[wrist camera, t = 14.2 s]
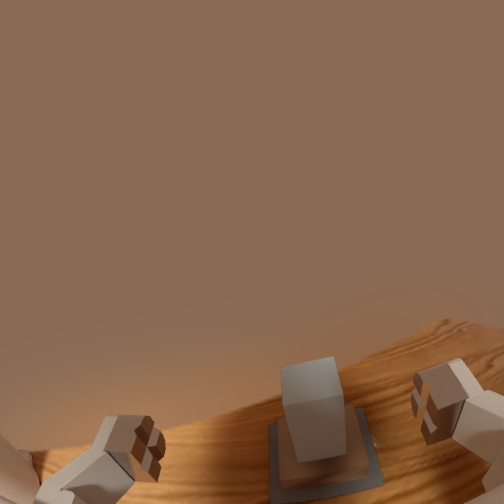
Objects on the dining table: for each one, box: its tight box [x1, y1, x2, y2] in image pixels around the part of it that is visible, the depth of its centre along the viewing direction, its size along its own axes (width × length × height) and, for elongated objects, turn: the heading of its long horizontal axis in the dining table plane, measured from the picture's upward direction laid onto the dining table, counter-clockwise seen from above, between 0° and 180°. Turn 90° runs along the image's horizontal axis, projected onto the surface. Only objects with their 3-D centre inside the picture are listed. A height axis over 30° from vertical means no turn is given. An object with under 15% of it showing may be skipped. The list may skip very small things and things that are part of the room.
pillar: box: [280, 356, 346, 463], centre depth 28 cm, size 5×5×10 cm
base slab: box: [277, 403, 369, 492], centre depth 30 cm, size 9×9×3 cm
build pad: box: [269, 407, 384, 504], centre depth 30 cm, size 12×12×1 cm
